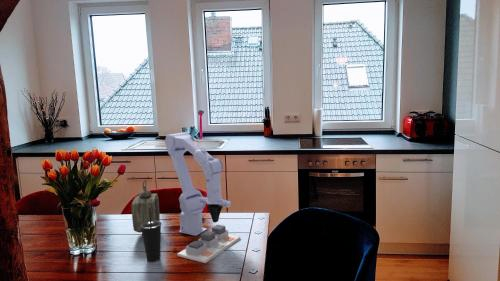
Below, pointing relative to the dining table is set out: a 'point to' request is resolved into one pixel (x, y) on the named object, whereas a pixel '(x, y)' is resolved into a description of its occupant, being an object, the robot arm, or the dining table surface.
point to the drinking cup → (152, 238)
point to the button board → (209, 247)
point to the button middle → (207, 236)
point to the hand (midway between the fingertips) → (215, 221)
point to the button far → (218, 229)
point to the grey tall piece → (144, 208)
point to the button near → (196, 244)
